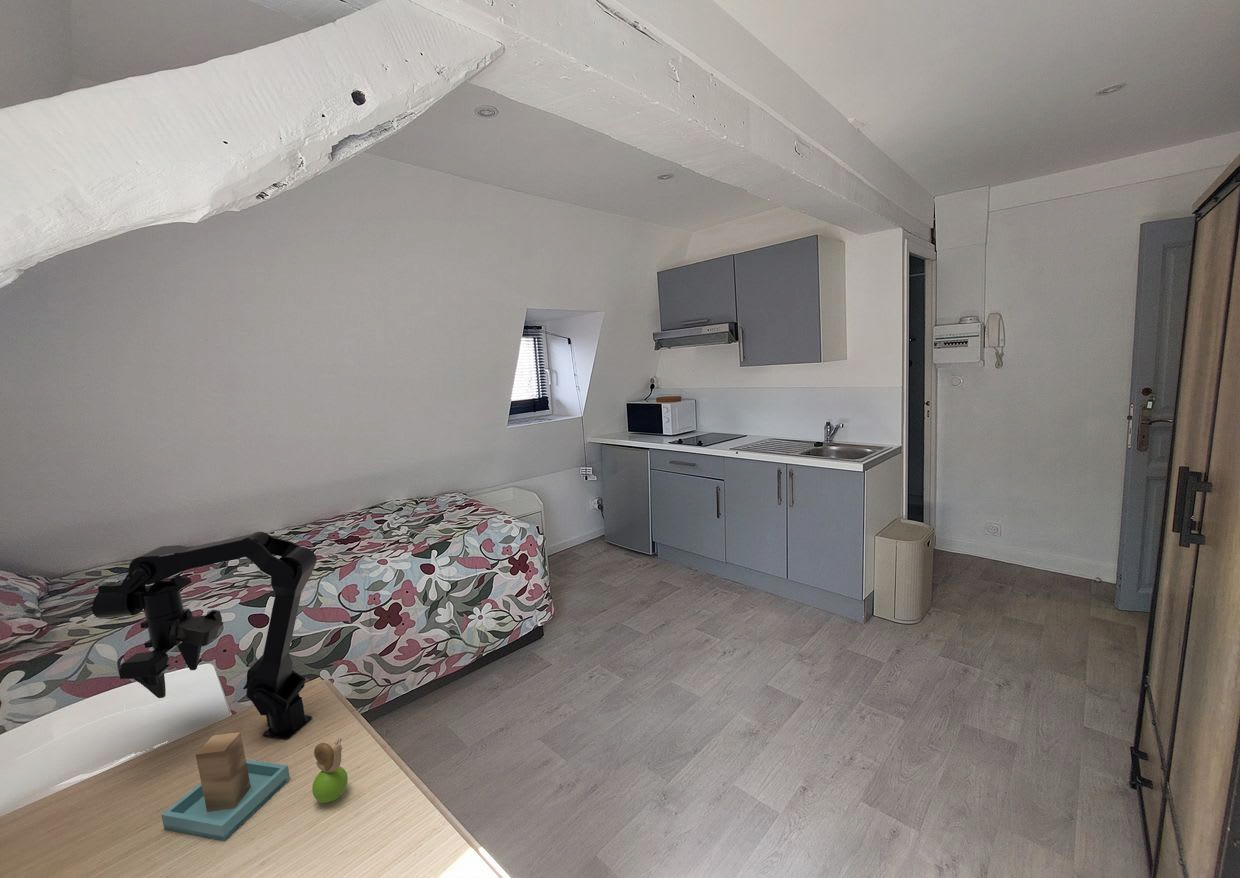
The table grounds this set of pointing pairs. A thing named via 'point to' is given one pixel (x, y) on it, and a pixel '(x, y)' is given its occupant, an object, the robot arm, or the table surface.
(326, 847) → the table surface
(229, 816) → the teal tray
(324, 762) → the snail figurine
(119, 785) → the table surface
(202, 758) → the walnut block
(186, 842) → the table surface
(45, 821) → the table surface
